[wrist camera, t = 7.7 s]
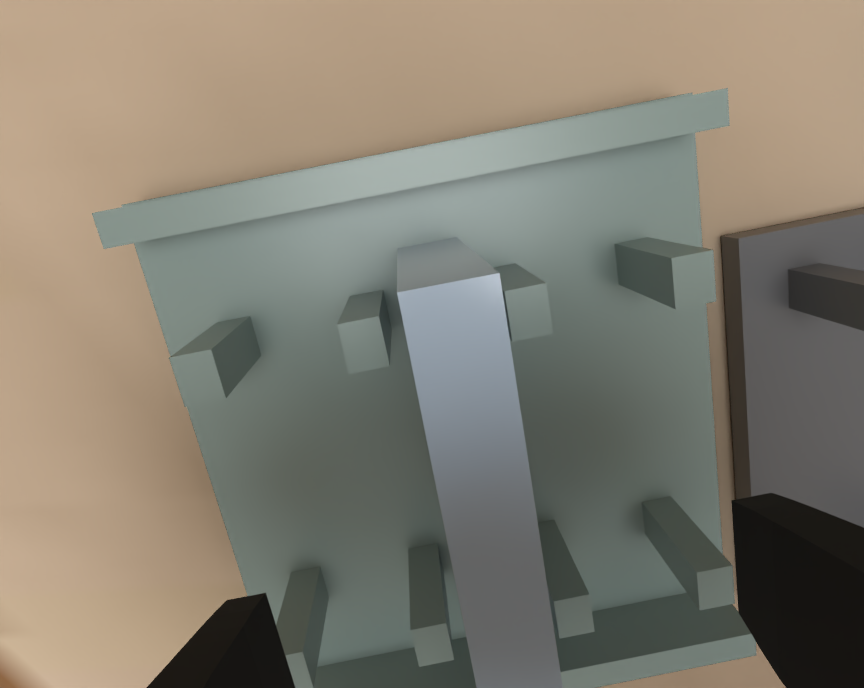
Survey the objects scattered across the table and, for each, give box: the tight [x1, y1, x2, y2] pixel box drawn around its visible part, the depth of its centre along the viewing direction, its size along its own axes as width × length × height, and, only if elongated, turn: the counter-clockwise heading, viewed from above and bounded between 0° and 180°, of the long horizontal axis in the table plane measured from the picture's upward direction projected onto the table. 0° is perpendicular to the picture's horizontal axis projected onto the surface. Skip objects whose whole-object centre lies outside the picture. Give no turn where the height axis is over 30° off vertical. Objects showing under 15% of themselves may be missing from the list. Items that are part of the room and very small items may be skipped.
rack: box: [92, 88, 756, 688], centre depth 14 cm, size 14×13×4 cm
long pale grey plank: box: [397, 237, 563, 688], centre depth 12 cm, size 10×1×6 cm, turn 10°
